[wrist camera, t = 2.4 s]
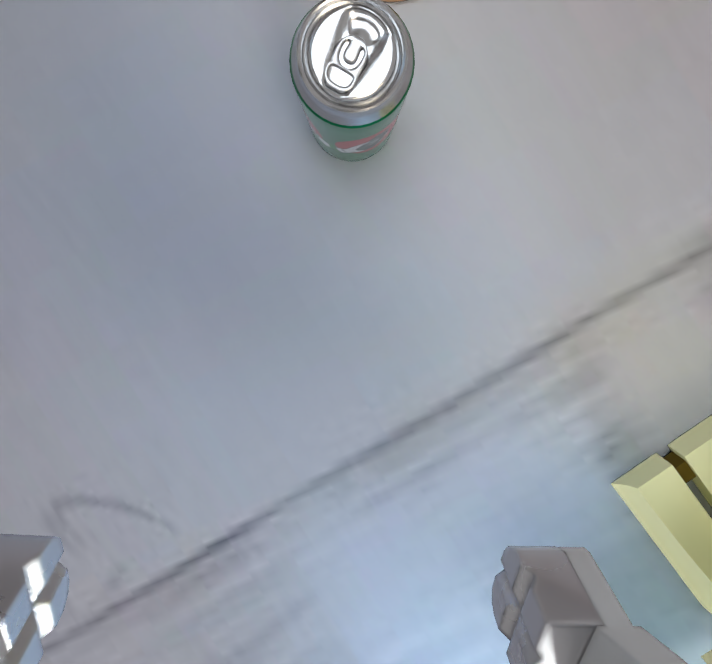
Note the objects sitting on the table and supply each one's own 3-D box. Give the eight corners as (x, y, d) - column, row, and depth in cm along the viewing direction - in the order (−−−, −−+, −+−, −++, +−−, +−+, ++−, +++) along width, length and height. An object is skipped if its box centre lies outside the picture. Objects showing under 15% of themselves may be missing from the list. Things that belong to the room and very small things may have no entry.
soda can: (408, 101, 31) (442, 23, 19) (368, 177, 32) (378, 147, 20) (334, 58, 31) (324, -49, 19) (296, 137, 31) (263, 81, 20)
